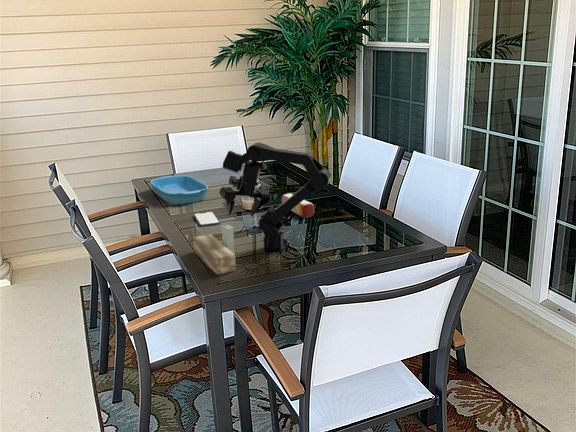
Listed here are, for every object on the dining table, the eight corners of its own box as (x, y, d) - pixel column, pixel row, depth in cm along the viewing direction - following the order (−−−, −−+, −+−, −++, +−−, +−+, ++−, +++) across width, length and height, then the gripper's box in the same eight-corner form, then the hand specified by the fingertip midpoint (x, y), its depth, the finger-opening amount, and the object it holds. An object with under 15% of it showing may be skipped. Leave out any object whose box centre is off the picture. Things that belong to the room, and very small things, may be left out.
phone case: (220, 226, 244) (212, 214, 258) (220, 222, 243) (212, 211, 258) (200, 228, 241) (193, 217, 255) (199, 225, 240) (193, 213, 255)
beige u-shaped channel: (211, 248, 217) (210, 234, 215) (235, 270, 196) (234, 254, 194) (194, 251, 214) (193, 237, 212) (217, 274, 193) (216, 258, 192)
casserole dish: (215, 202, 276) (214, 187, 274) (170, 210, 266) (169, 195, 263) (186, 186, 307) (185, 172, 304) (145, 192, 296) (144, 178, 294)
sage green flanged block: (229, 254, 210) (227, 223, 207) (235, 260, 205) (233, 228, 202) (208, 258, 207) (206, 227, 203) (214, 264, 202) (212, 232, 198)
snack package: (280, 207, 267) (280, 193, 265) (293, 205, 269) (293, 191, 267) (301, 219, 248) (301, 204, 246) (315, 217, 251) (315, 202, 249)
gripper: (263, 170, 220) (253, 207, 225) (218, 166, 210) (209, 205, 216) (276, 181, 211) (265, 220, 217) (229, 178, 202) (220, 218, 207)
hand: (240, 215), depth 214 cm, fingers open, 9 cm apart
